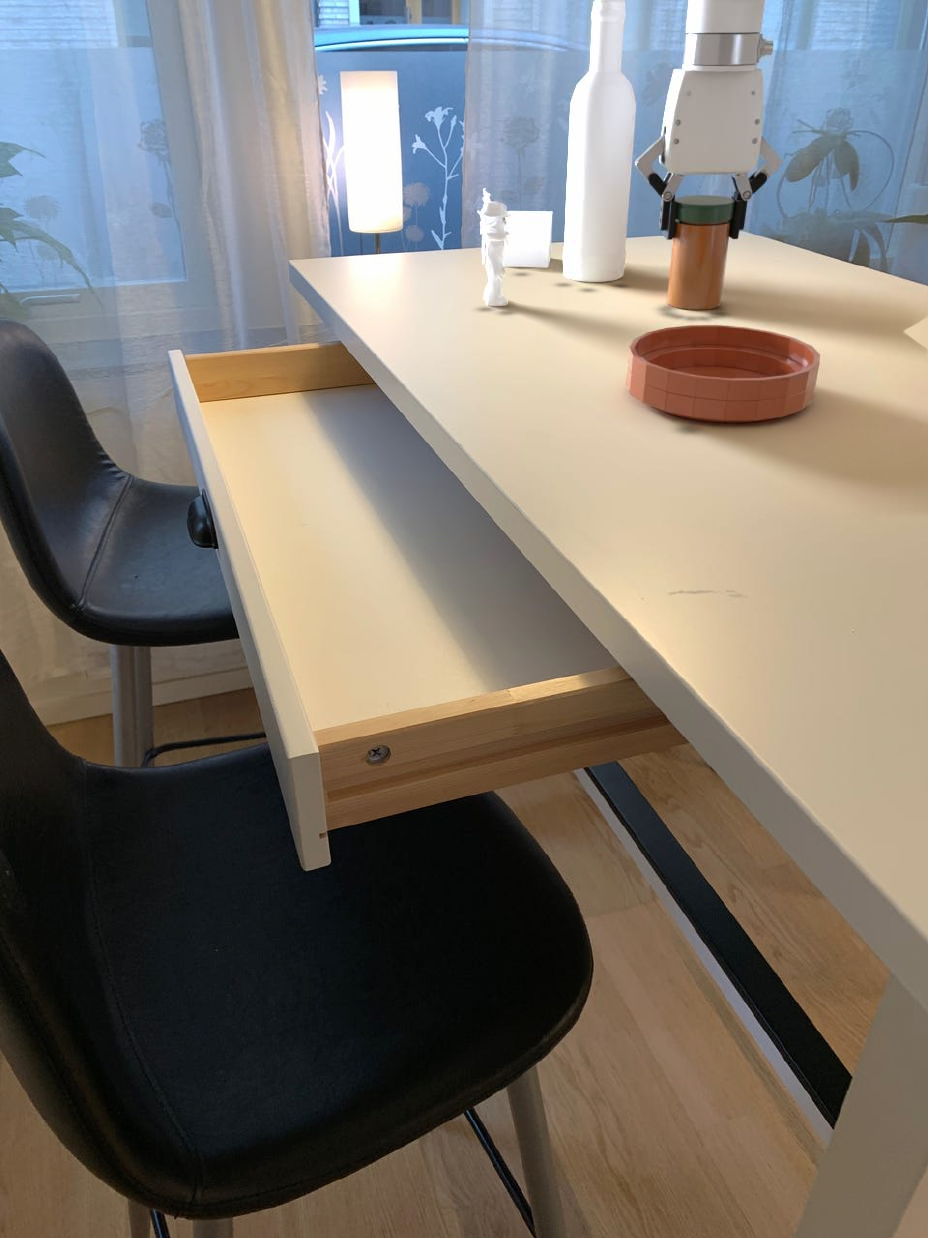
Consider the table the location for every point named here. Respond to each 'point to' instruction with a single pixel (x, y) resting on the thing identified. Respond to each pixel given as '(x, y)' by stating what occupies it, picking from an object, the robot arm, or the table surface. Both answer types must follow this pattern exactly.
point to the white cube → (528, 239)
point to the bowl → (722, 372)
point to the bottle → (600, 156)
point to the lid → (704, 208)
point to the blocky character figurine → (494, 248)
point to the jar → (698, 264)
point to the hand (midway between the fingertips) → (700, 235)
